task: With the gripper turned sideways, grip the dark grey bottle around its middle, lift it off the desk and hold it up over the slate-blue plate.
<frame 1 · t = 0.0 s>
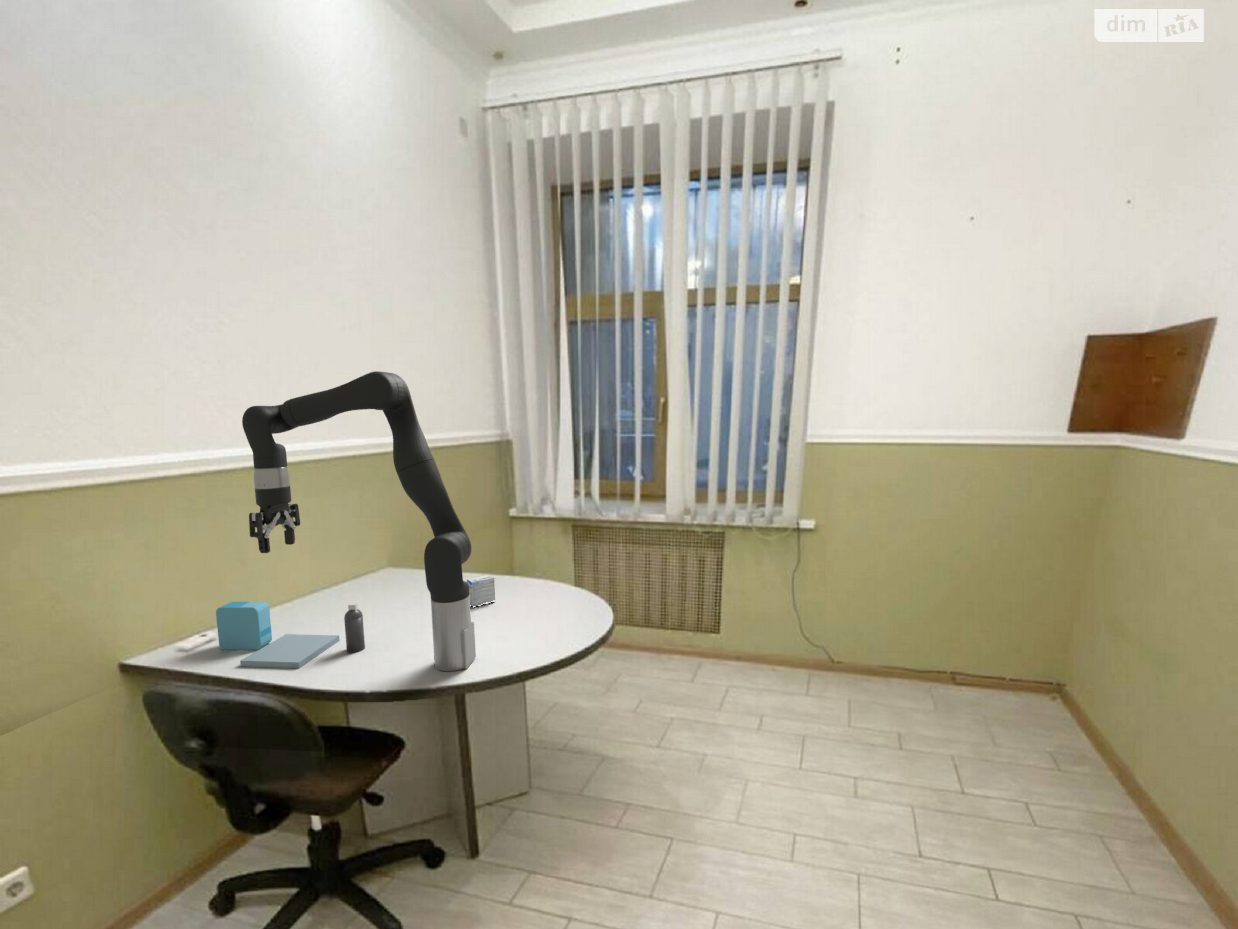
hand: (278, 548, 135), 29 cm above the table, tool pointing down, fingers open, 8 cm apart
dark grey bottle: (355, 649, 142), on the table
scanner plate: (292, 652, 141), on the table
data package: (246, 647, 146), on the table
medicine box: (481, 604, 175), on the table
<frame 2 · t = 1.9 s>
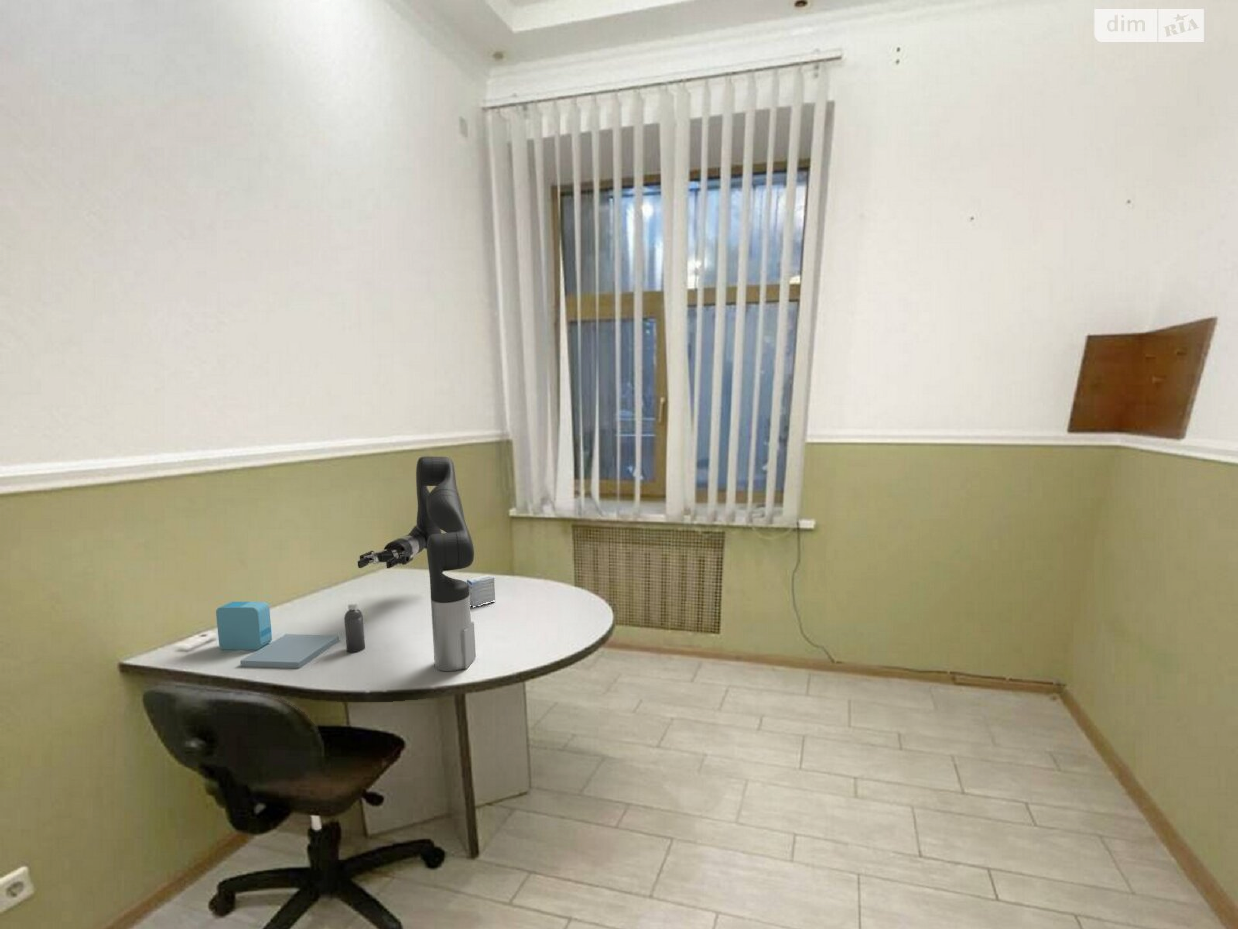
hand: (373, 565, 151), 20 cm above the table, tool horizontal, fingers open, 8 cm apart
nothing on the table moved.
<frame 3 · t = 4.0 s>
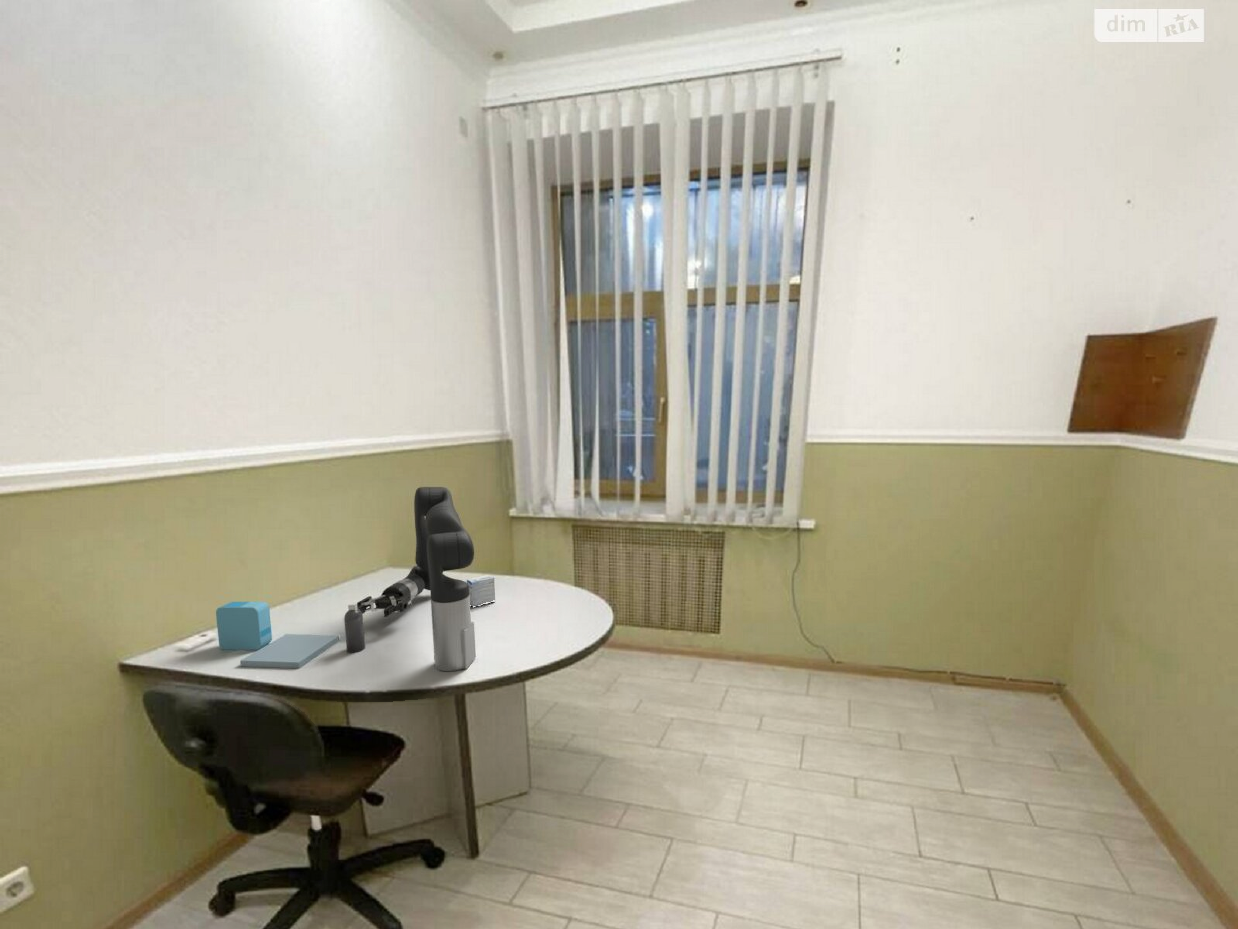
hand: (370, 613, 149), 7 cm above the table, tool horizontal, fingers open, 8 cm apart
nothing on the table moved.
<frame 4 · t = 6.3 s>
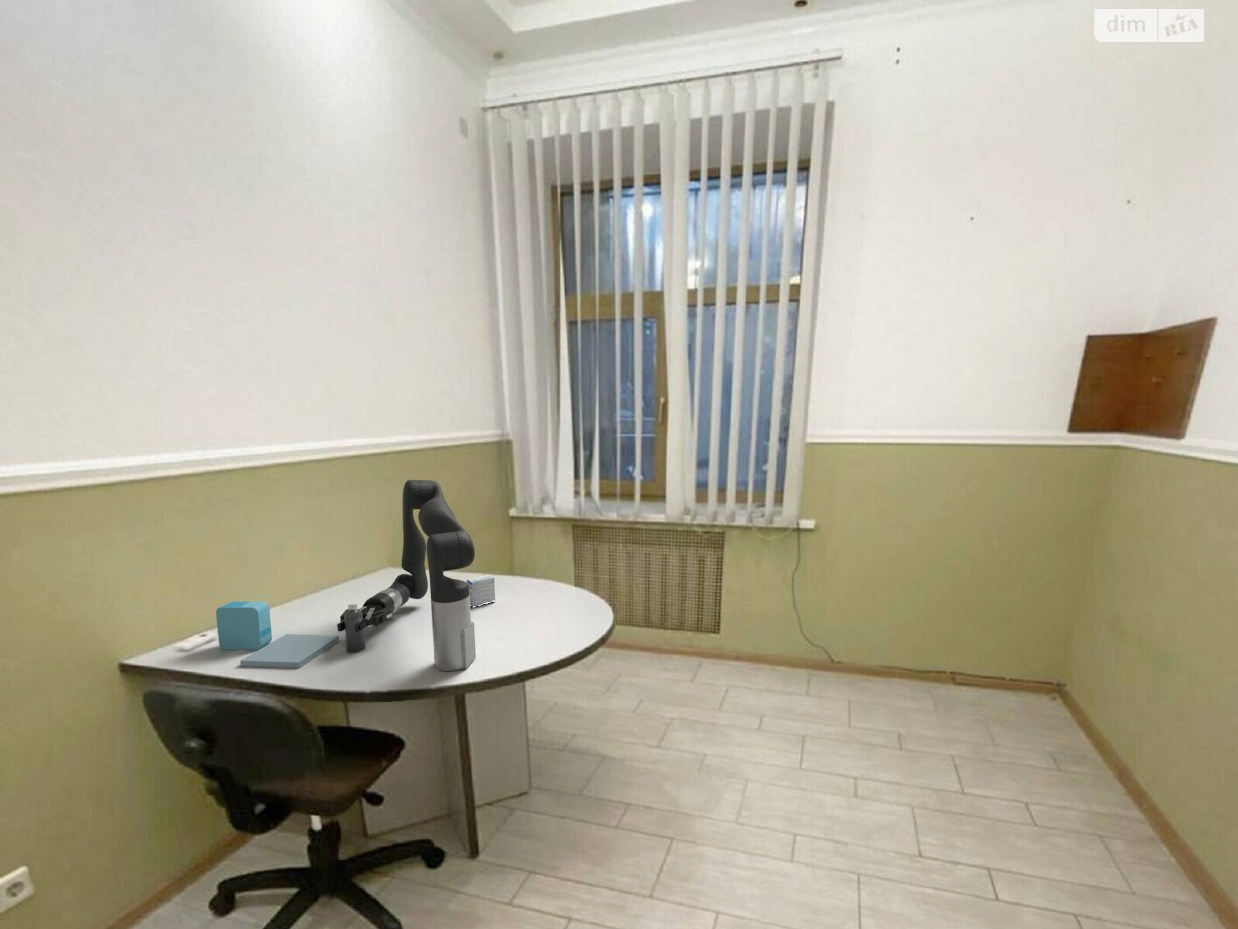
hand: (348, 628, 139), 7 cm above the table, tool horizontal, fingers closed on dark grey bottle, 4 cm apart
dark grey bottle: (356, 649, 142), on the table, touching gripper
everything else where it was.
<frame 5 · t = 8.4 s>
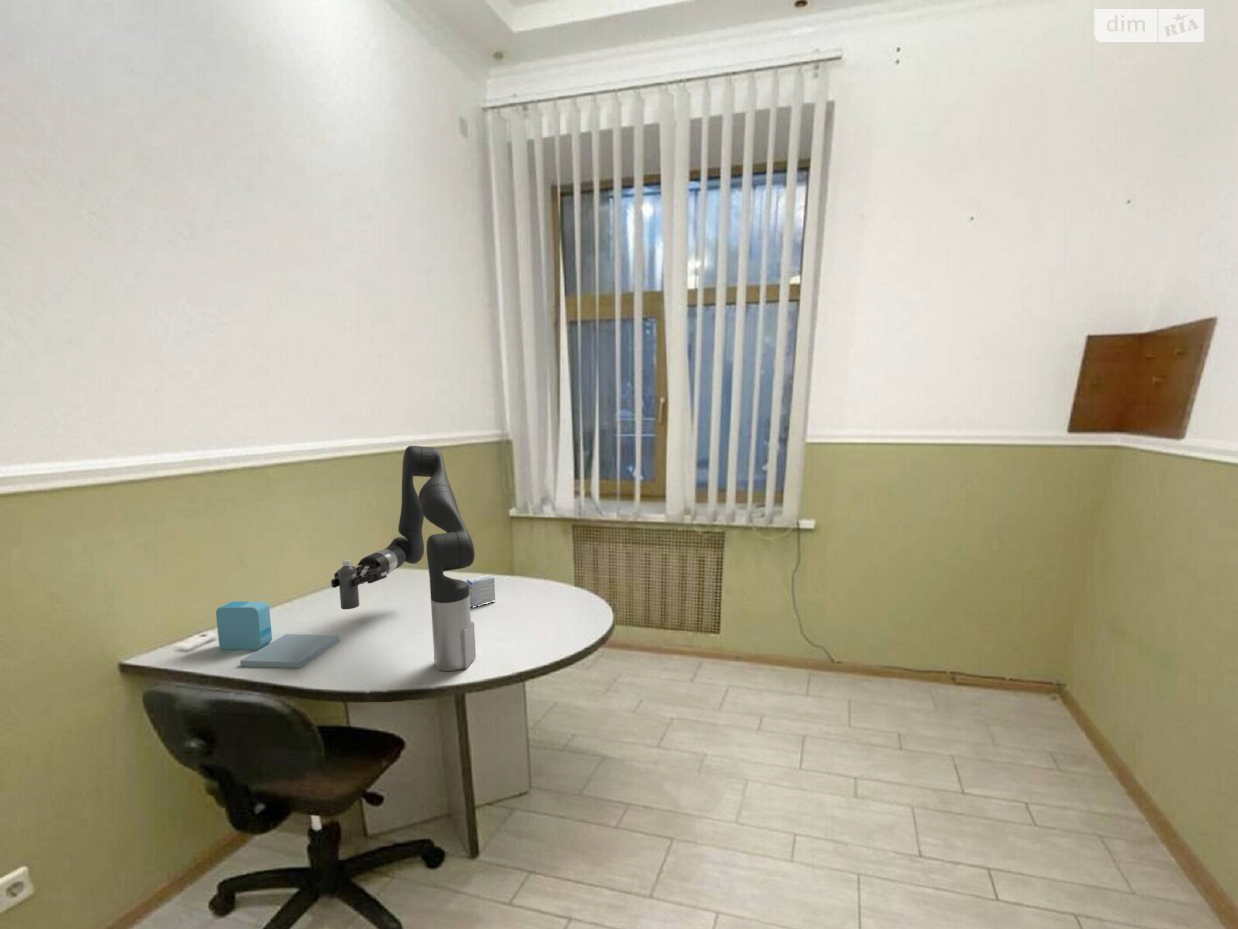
hand: (342, 584, 138), 19 cm above the table, tool horizontal, fingers closed on dark grey bottle, 4 cm apart
dark grey bottle: (350, 606, 141), point 12 cm above the table, touching gripper
everything else where it was.
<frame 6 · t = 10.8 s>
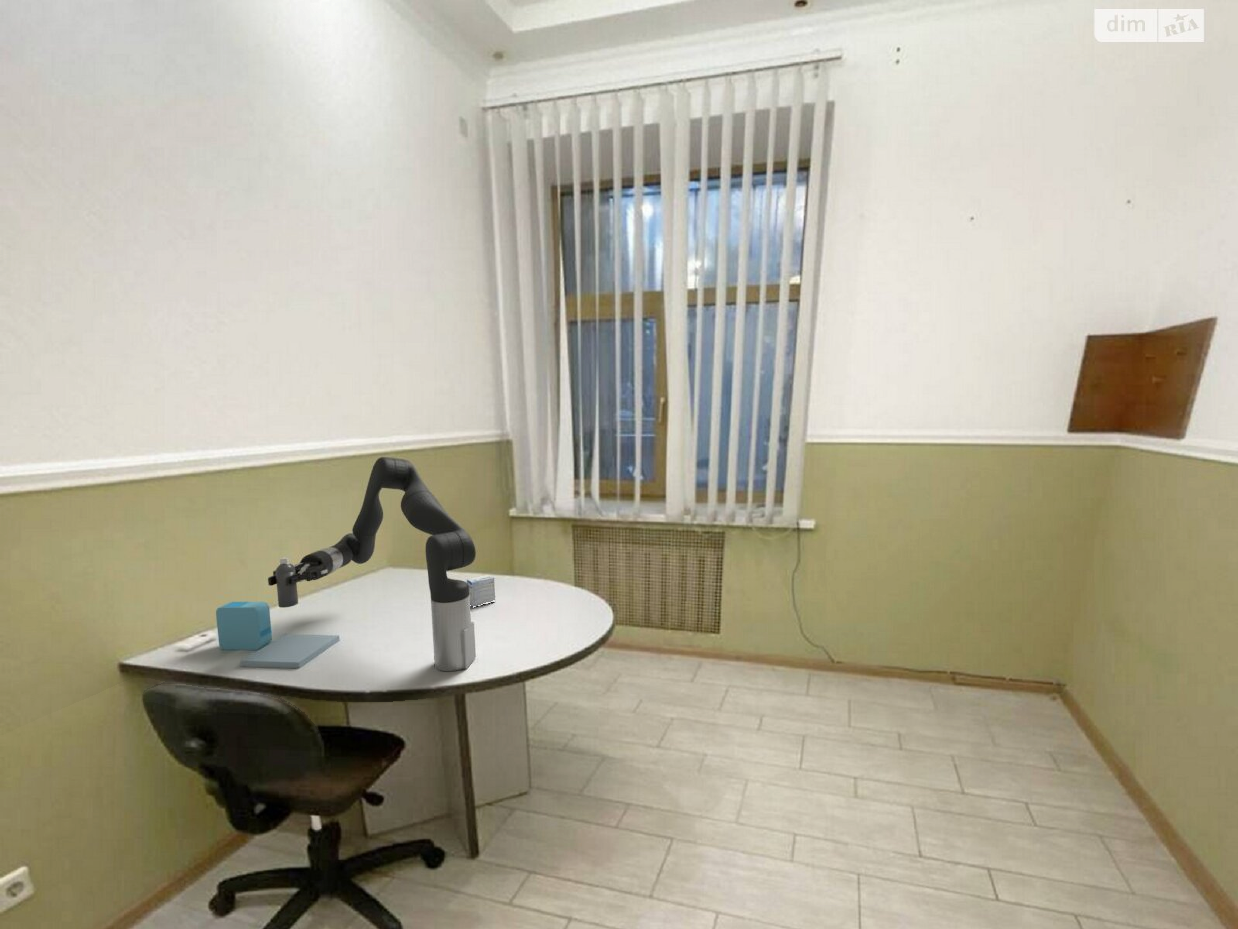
hand: (278, 581, 136), 20 cm above the table, tool horizontal, fingers closed on dark grey bottle, 4 cm apart
dark grey bottle: (288, 604, 140), point 13 cm above the table, touching gripper
everything else where it was.
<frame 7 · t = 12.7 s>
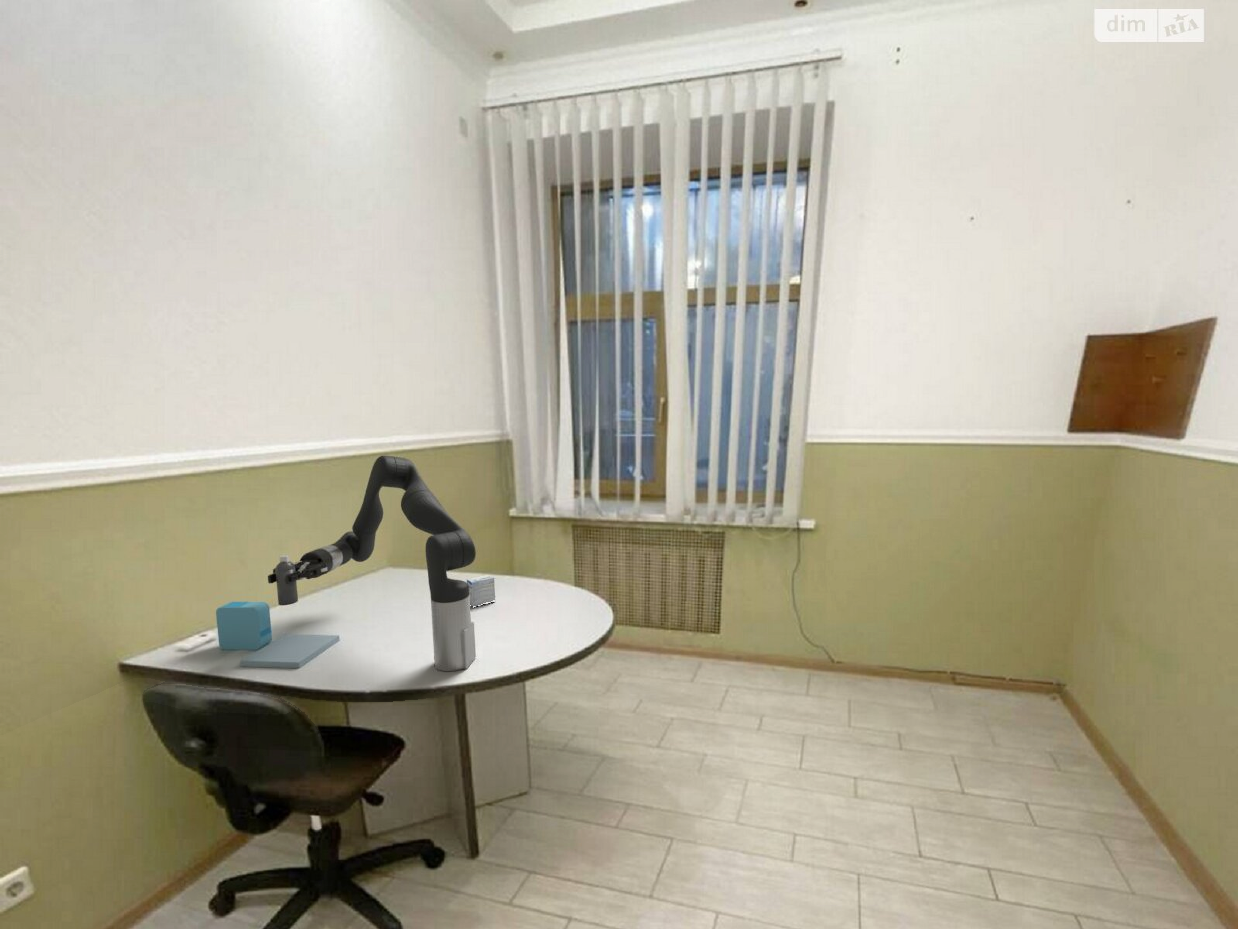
hand: (278, 579, 136), 21 cm above the table, tool horizontal, fingers closed on dark grey bottle, 4 cm apart
dark grey bottle: (288, 602, 140), point 14 cm above the table, touching gripper
everything else where it was.
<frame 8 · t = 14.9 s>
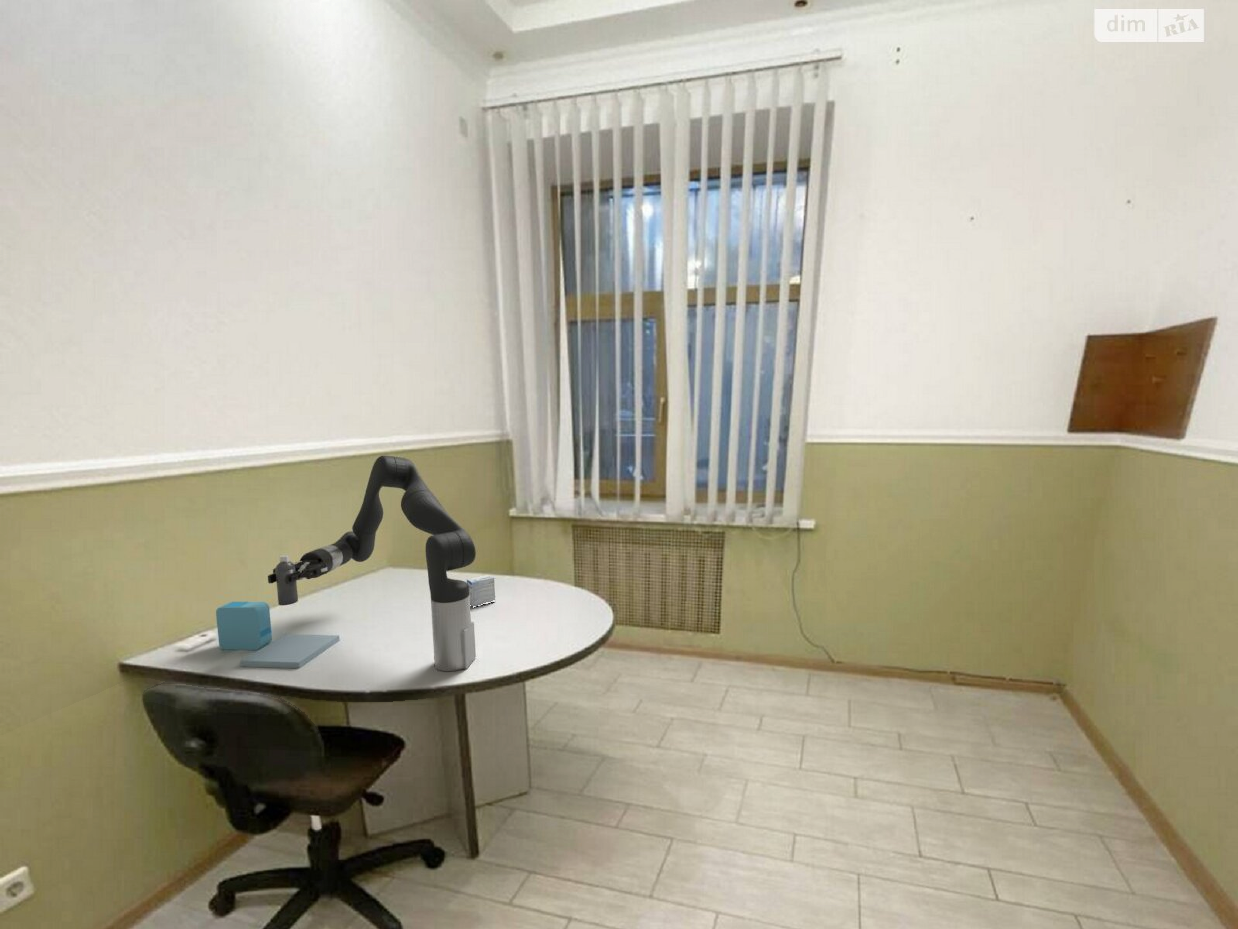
hand: (278, 579, 136), 21 cm above the table, tool horizontal, fingers closed on dark grey bottle, 4 cm apart
dark grey bottle: (288, 602, 140), point 14 cm above the table, touching gripper
everything else where it was.
at the end: the gripper is holding dark grey bottle; dark grey bottle inside the target area on the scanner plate (0.0 cm from its centre), point 13.9 cm above the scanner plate's base; dark grey bottle tilted 0° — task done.
